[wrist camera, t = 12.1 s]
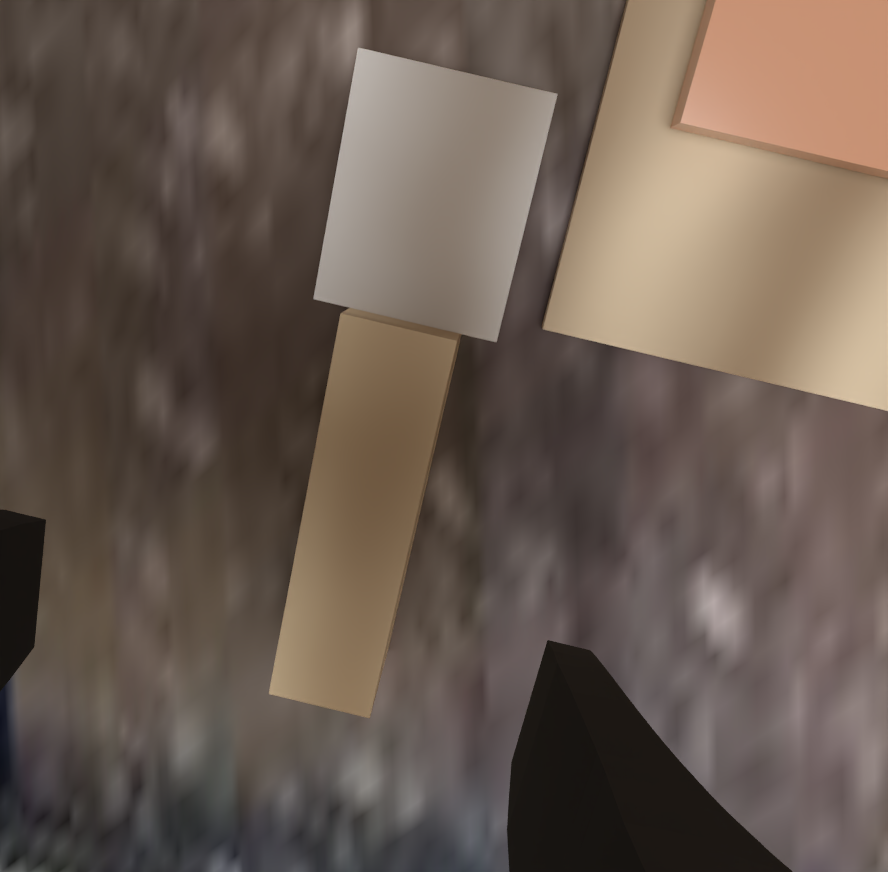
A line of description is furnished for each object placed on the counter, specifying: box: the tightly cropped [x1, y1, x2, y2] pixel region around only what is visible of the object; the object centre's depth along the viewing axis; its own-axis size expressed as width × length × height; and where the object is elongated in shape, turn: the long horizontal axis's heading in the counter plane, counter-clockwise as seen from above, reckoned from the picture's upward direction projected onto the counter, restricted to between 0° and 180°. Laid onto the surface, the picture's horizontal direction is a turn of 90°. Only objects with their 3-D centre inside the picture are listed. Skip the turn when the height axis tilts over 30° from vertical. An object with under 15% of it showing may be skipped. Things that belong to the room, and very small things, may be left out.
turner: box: [269, 48, 557, 718], centre depth 18 cm, size 4×14×3 cm, turn 167°
